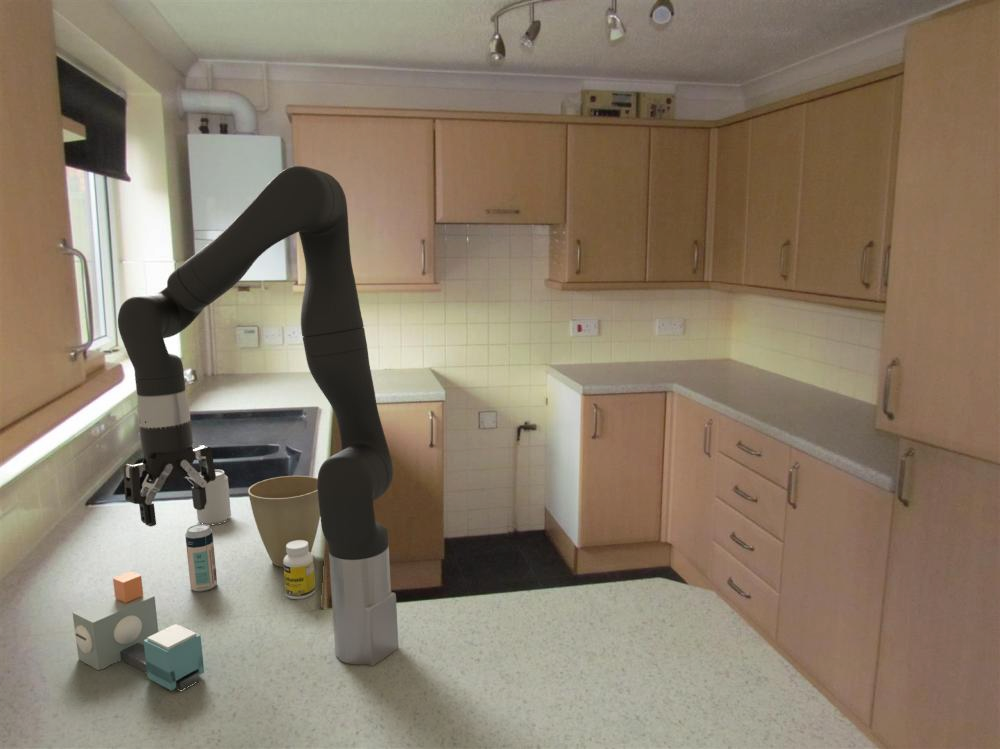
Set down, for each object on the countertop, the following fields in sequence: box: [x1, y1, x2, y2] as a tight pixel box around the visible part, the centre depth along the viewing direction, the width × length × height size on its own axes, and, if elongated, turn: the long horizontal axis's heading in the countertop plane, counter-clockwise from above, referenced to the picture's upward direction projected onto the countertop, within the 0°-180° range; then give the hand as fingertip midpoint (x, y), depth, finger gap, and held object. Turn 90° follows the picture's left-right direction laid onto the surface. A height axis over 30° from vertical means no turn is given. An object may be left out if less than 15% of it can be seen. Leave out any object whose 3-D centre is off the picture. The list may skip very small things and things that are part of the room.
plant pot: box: [247, 475, 321, 568], centre depth 150 cm, size 15×15×16 cm
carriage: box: [143, 623, 205, 691], centre depth 109 cm, size 6×5×6 cm
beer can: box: [184, 523, 218, 593], centre depth 138 cm, size 5×5×12 cm
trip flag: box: [112, 570, 144, 603], centre depth 118 cm, size 3×3×4 cm
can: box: [196, 469, 232, 526], centre depth 173 cm, size 8×8×12 cm
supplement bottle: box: [283, 540, 316, 600], centre depth 135 cm, size 5×5×10 cm
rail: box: [120, 643, 200, 691], centre depth 112 cm, size 16×3×2 cm, turn 57°
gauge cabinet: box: [72, 590, 159, 671], centre depth 117 cm, size 6×10×8 cm, turn 147°
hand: (175, 516), depth 119 cm, fingers open, 8 cm apart
